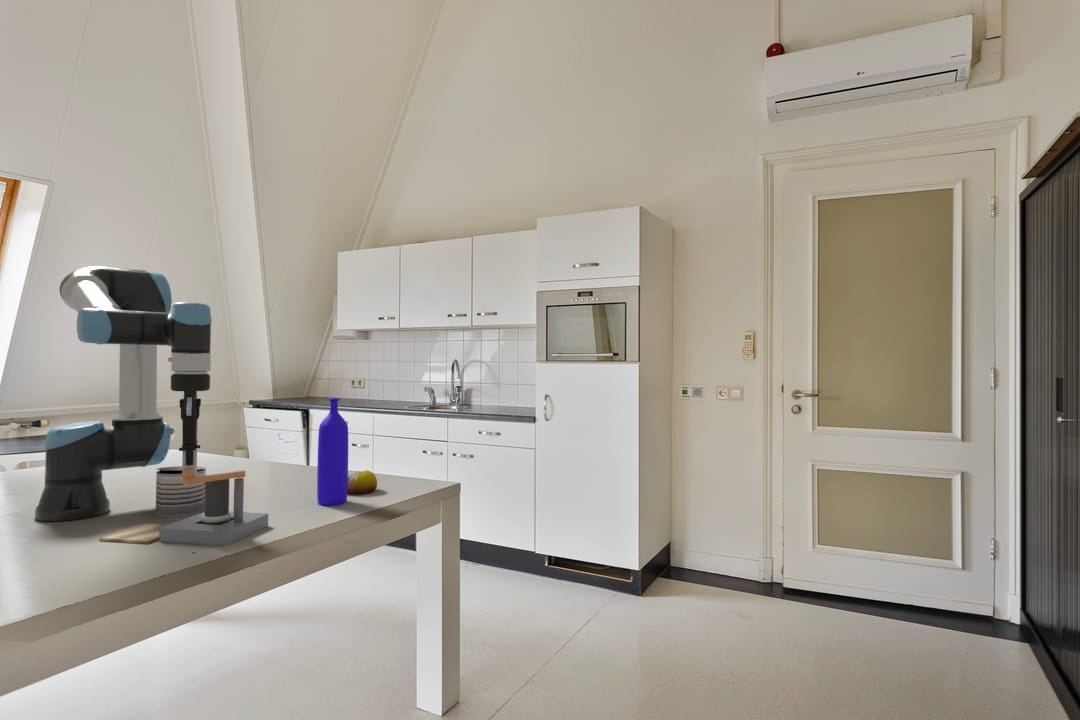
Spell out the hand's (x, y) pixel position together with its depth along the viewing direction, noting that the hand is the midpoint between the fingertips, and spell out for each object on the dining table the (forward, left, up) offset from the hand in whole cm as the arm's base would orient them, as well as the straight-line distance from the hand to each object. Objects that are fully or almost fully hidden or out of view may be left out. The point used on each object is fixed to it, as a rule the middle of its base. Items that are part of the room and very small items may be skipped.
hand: (189, 479), depth 132 cm
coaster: (-14, +4, -14) cm, 20 cm away
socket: (+1, +8, -14) cm, 16 cm away
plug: (+1, +8, -14) cm, 16 cm away
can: (-21, +24, -14) cm, 35 cm away
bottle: (+13, +41, -14) cm, 45 cm away
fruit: (+14, +56, -15) cm, 59 cm away
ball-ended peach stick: (+4, +3, -1) cm, 5 cm away
